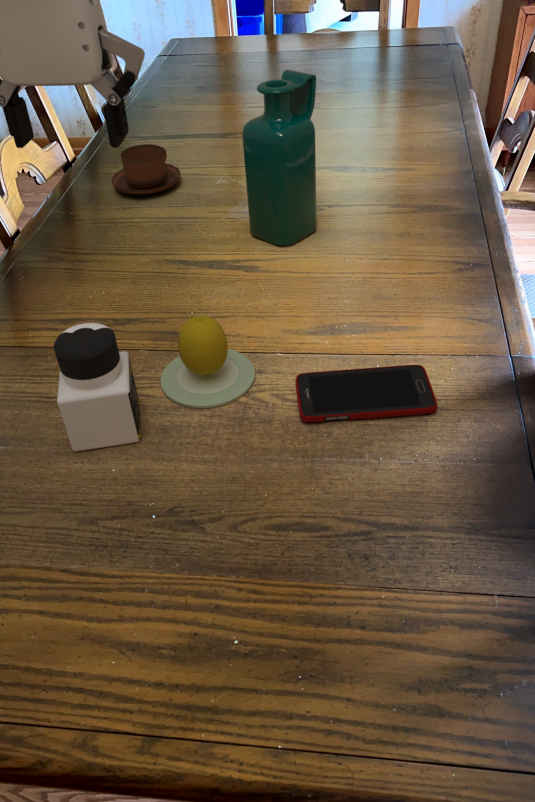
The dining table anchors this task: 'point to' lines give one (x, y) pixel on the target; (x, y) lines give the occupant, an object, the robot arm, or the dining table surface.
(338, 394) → the cell phone
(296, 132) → the pitcher
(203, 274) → the dining table surface
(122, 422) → the medicine bottle
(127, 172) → the cup and saucer
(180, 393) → the saucer
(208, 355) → the lemon
